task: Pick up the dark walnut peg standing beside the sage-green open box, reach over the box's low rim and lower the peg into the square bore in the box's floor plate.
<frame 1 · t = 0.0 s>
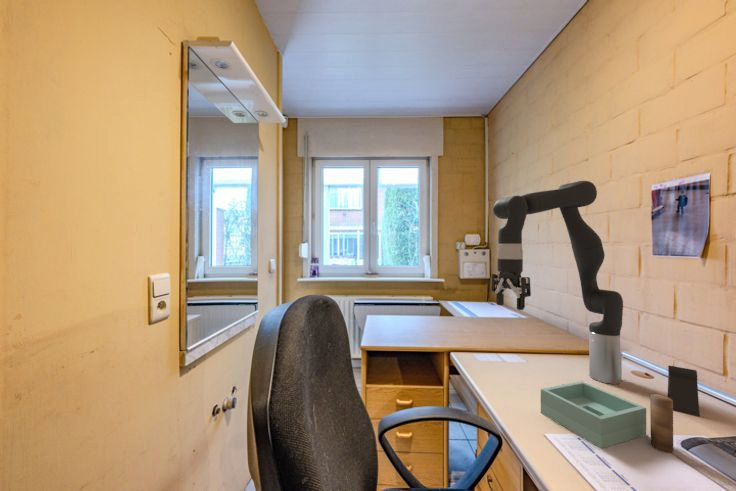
hand: (509, 307, 100), 29 cm above the table, tool pointing down, fingers open, 8 cm apart
walnut peg: (661, 447, 74), on the table
bore box: (590, 423, 85), on the table
phone stand: (682, 408, 94), on the table
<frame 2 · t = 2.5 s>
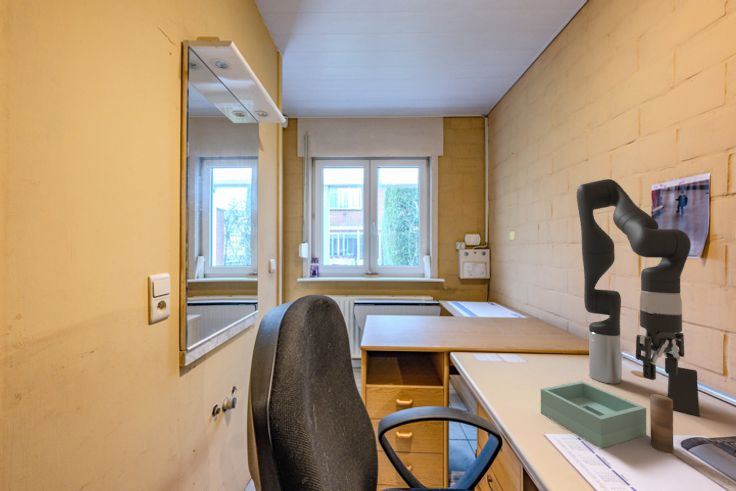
hand: (660, 376, 75), 17 cm above the table, tool pointing down, fingers open, 8 cm apart
nothing on the table moved.
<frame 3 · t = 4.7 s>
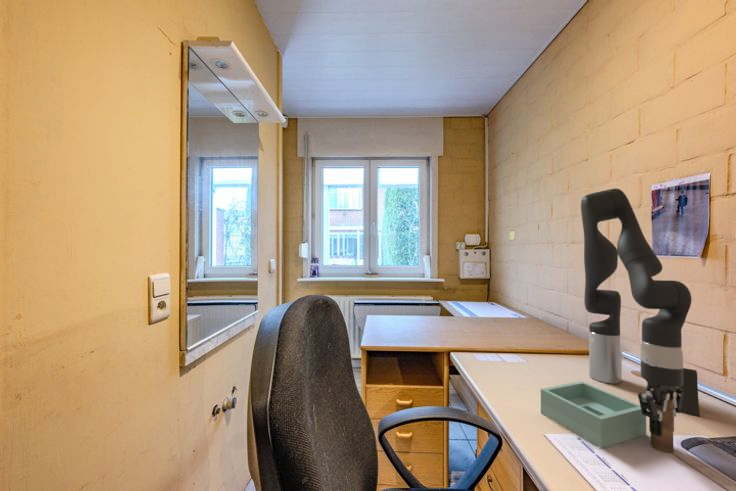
hand: (661, 432, 74), 4 cm above the table, tool pointing down, fingers closed on walnut peg, 4 cm apart
walnut peg: (661, 447, 74), on the table, touching gripper
everything else where it was.
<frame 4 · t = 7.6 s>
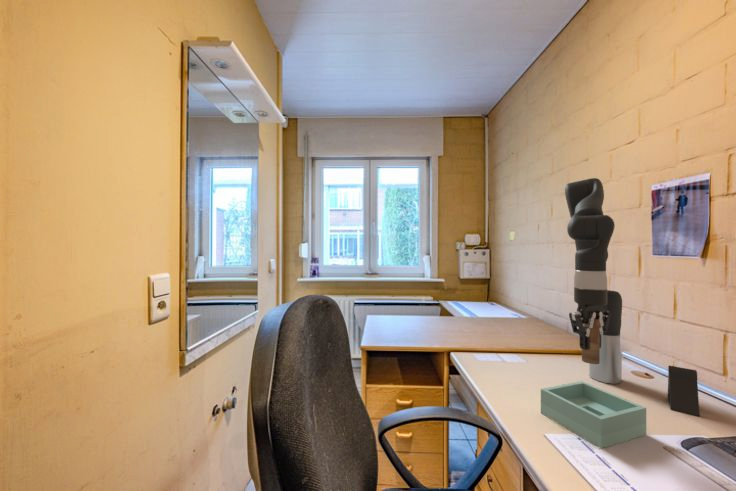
hand: (590, 348, 85), 21 cm above the table, tool pointing down, fingers closed on walnut peg, 4 cm apart
walnut peg: (590, 361, 85), point 17 cm above the table, touching gripper
everything else where it was.
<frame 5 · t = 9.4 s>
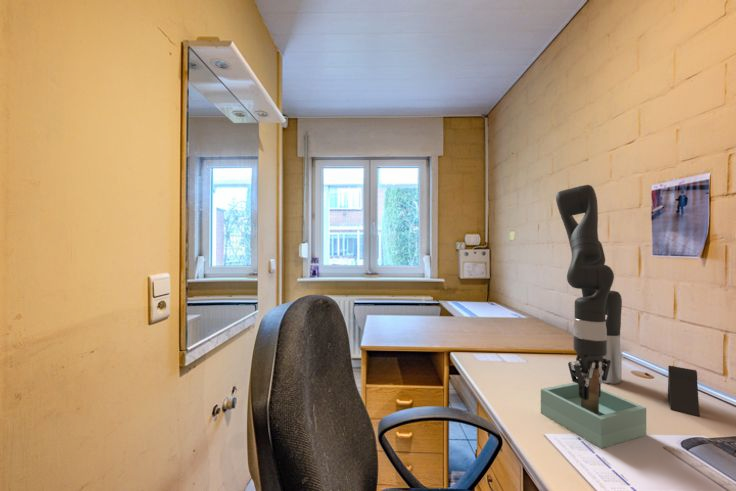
hand: (589, 397, 85), 7 cm above the table, tool pointing down, fingers closed on walnut peg, 4 cm apart
walnut peg: (589, 410, 85), point 3 cm above the table, touching gripper
everything else where it was.
when the fingers open (5 cm above the table, at t = 10.6 s): walnut peg stays where it is, resting in bore box.
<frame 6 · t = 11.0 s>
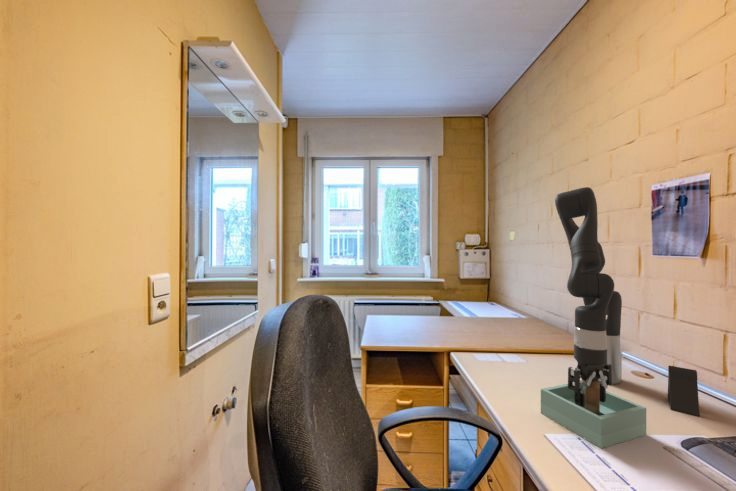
hand: (590, 403, 85), 6 cm above the table, tool pointing down, fingers open, 8 cm apart
walnut peg: (590, 423, 85), resting in bore box
everything else where it was.
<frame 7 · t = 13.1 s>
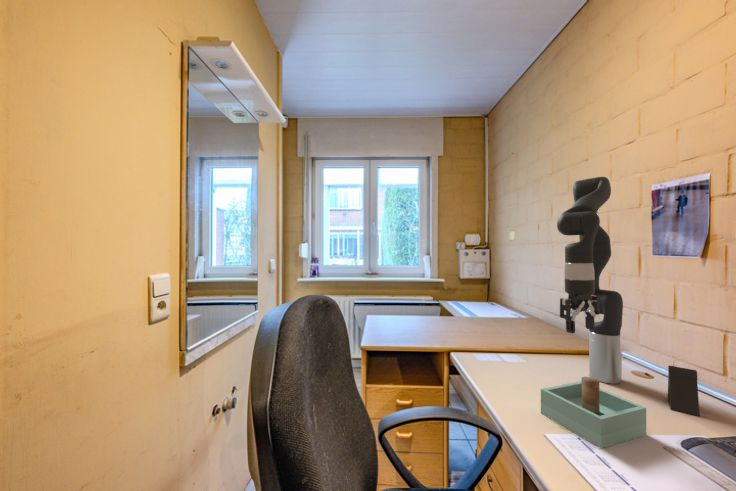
hand: (580, 330, 93), 24 cm above the table, tool pointing down, fingers open, 8 cm apart
nothing on the table moved.
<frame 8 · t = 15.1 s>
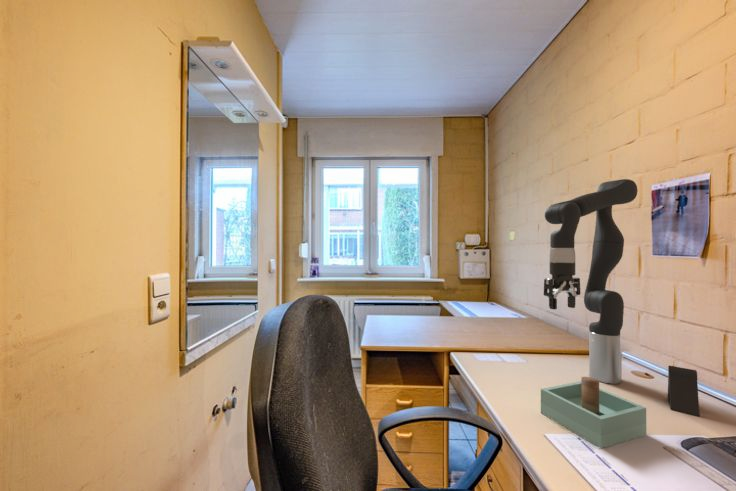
hand: (562, 308, 105), 28 cm above the table, tool pointing down, fingers open, 8 cm apart
nothing on the table moved.
at the end: walnut peg 0.1 cm off-centre on the bore box, point 0.0 cm above the bore box's base; walnut peg tilted 0°; the gripper is holding nothing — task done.
